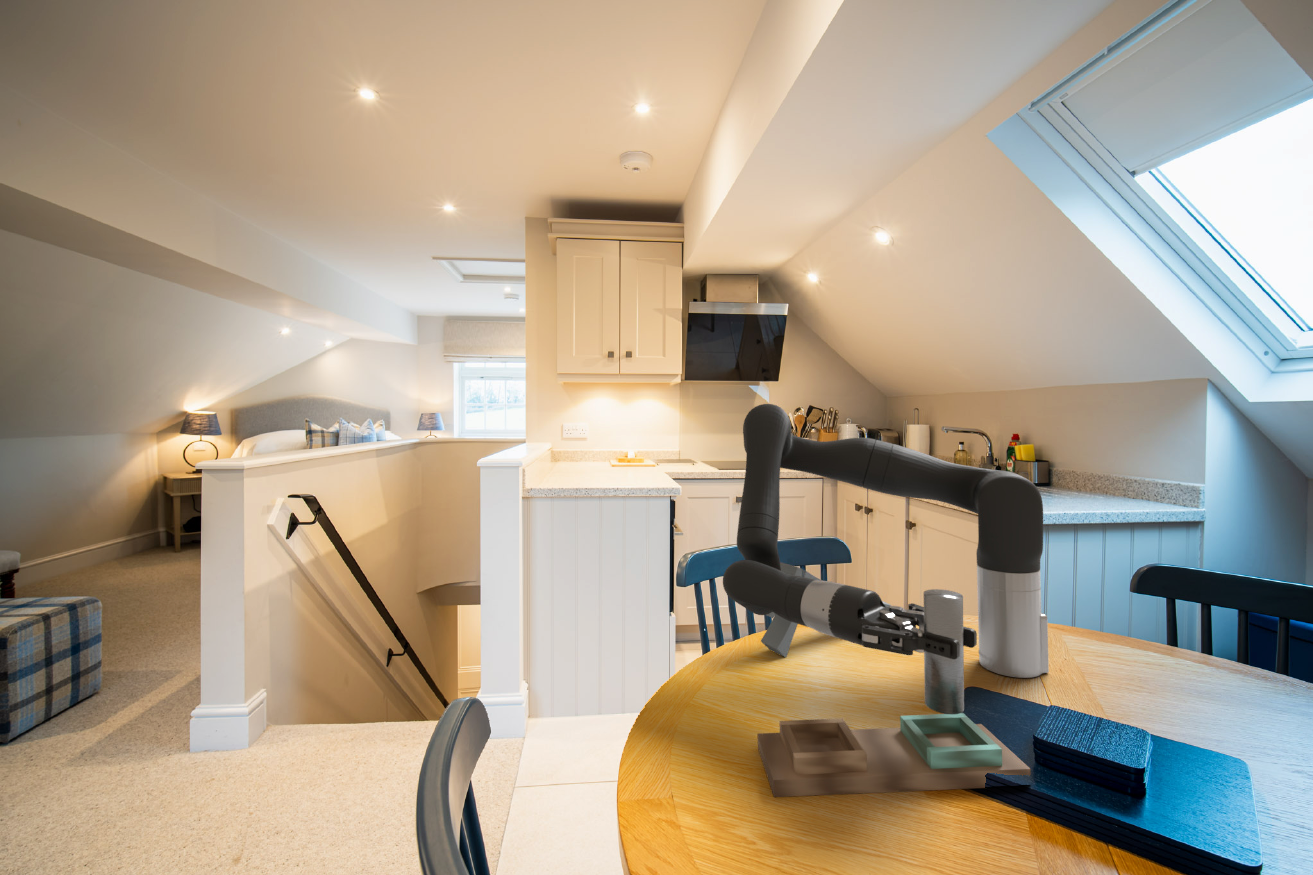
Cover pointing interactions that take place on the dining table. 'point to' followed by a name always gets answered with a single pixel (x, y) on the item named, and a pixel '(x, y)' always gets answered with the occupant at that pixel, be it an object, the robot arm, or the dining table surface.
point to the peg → (941, 671)
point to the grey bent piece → (781, 628)
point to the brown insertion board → (883, 756)
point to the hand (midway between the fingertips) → (966, 644)
